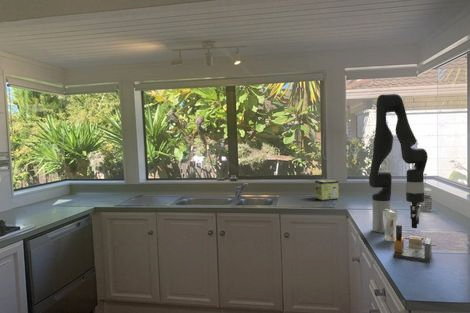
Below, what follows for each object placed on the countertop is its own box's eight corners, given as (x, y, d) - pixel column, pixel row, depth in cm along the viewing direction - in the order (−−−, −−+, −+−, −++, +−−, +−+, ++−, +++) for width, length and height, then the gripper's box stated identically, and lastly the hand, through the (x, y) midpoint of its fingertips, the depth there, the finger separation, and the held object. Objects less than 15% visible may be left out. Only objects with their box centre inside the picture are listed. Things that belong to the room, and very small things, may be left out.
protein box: (315, 199, 298) (314, 180, 297) (331, 197, 303) (331, 179, 302) (321, 201, 288) (321, 182, 287) (338, 199, 293) (338, 180, 292)
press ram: (396, 247, 166) (396, 223, 166) (403, 248, 165) (403, 224, 164) (394, 251, 160) (394, 227, 160) (401, 252, 159) (401, 228, 158)
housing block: (410, 245, 173) (410, 235, 173) (421, 247, 171) (421, 236, 170) (408, 248, 169) (408, 238, 169) (420, 250, 166) (420, 239, 166)
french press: (435, 211, 241) (435, 174, 239) (416, 211, 243) (416, 174, 242) (430, 208, 251) (430, 172, 249) (412, 208, 253) (412, 172, 251)
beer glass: (381, 240, 182) (381, 211, 181) (384, 237, 188) (384, 208, 187) (396, 242, 178) (396, 212, 177) (399, 239, 184) (399, 209, 183)
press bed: (397, 249, 168) (397, 233, 168) (431, 253, 161) (431, 237, 161) (393, 257, 158) (393, 240, 158) (429, 262, 151) (429, 244, 150)
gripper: (408, 188, 176) (408, 222, 177) (404, 193, 164) (404, 228, 165) (425, 189, 172) (425, 223, 173) (422, 193, 160) (423, 230, 161)
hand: (415, 225), depth 169 cm, fingers open, 8 cm apart
